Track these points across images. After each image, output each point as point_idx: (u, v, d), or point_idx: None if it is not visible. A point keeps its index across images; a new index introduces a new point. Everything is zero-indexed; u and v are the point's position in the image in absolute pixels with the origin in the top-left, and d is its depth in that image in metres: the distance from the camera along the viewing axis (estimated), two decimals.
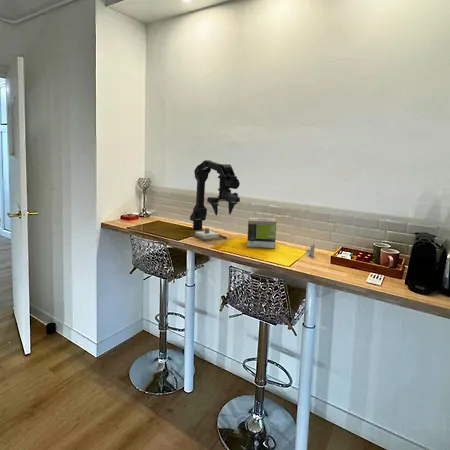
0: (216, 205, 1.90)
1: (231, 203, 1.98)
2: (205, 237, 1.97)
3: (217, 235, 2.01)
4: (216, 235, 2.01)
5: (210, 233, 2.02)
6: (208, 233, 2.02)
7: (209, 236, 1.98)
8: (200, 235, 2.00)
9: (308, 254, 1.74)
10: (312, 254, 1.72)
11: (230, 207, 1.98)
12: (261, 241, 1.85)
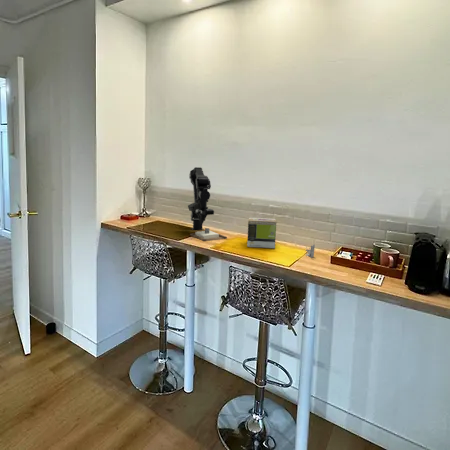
0: (196, 214, 2.07)
1: None
2: (205, 237, 1.97)
3: (217, 235, 2.01)
4: (216, 235, 2.01)
5: (210, 233, 2.02)
6: (208, 233, 2.02)
7: (209, 236, 1.98)
8: (200, 235, 2.00)
9: (308, 254, 1.74)
10: (312, 254, 1.72)
11: None
12: (261, 242, 1.85)
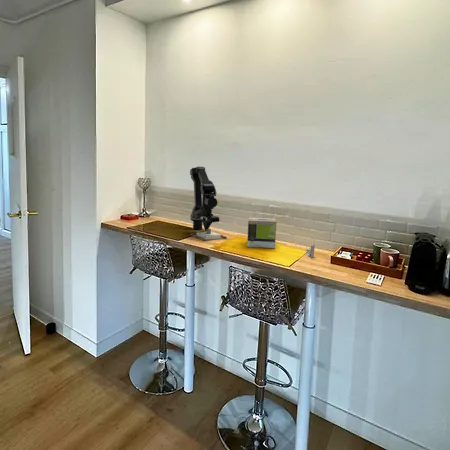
0: (201, 221, 2.03)
1: None
2: (207, 238, 1.96)
3: (219, 236, 2.00)
4: (218, 236, 2.00)
5: (212, 234, 2.01)
6: (210, 234, 2.01)
7: (211, 237, 1.97)
8: (202, 236, 1.98)
9: (308, 254, 1.74)
10: (312, 254, 1.72)
11: None
12: (261, 242, 1.85)
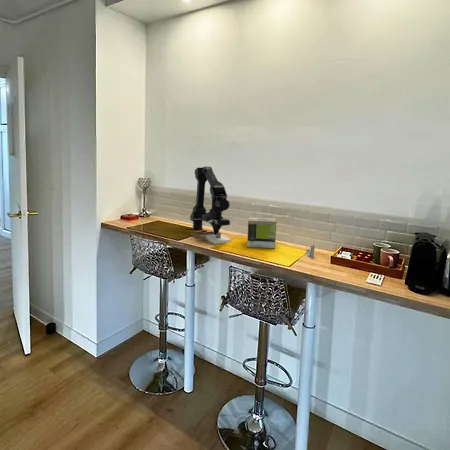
0: (211, 224, 1.94)
1: None
2: (216, 243, 1.88)
3: (229, 241, 1.92)
4: (228, 241, 1.92)
5: (221, 238, 1.93)
6: (219, 238, 1.93)
7: (220, 242, 1.89)
8: (211, 240, 1.91)
9: (308, 254, 1.73)
10: (312, 254, 1.72)
11: None
12: (261, 242, 1.85)
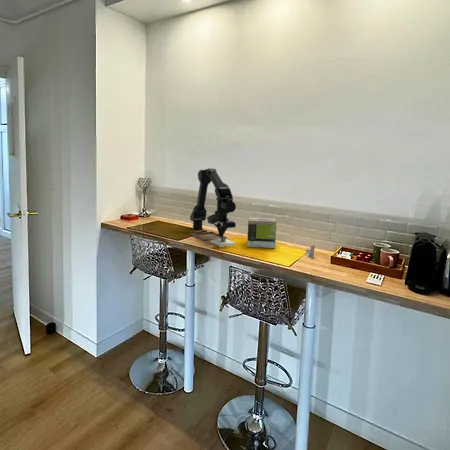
0: (216, 226, 1.90)
1: None
2: (221, 246, 1.84)
3: (234, 244, 1.88)
4: (233, 244, 1.88)
5: (226, 242, 1.89)
6: (224, 242, 1.89)
7: (225, 245, 1.85)
8: None
9: (308, 254, 1.73)
10: (312, 254, 1.72)
11: None
12: (261, 241, 1.85)
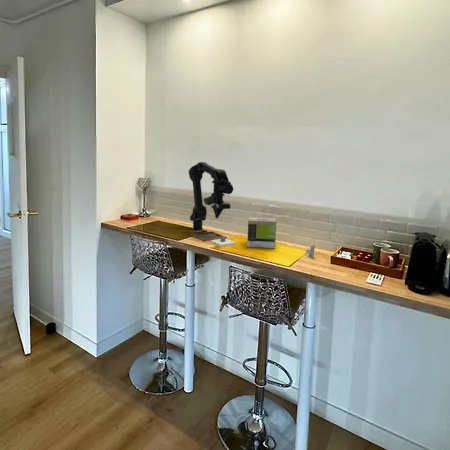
0: None
1: None
2: (221, 246, 1.84)
3: (234, 244, 1.88)
4: (233, 244, 1.88)
5: (226, 241, 1.89)
6: (224, 241, 1.89)
7: (225, 245, 1.85)
8: None
9: (308, 254, 1.73)
10: (312, 254, 1.72)
11: None
12: (261, 242, 1.85)
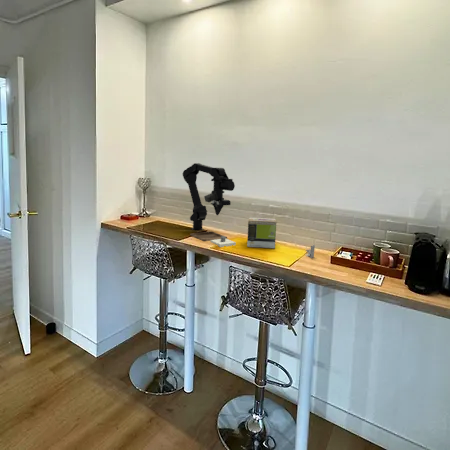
0: (213, 205, 2.08)
1: None
2: (221, 246, 1.84)
3: (234, 244, 1.88)
4: (233, 244, 1.88)
5: (226, 241, 1.89)
6: (224, 241, 1.89)
7: (225, 245, 1.85)
8: None
9: (308, 254, 1.73)
10: (312, 254, 1.72)
11: None
12: (261, 242, 1.85)
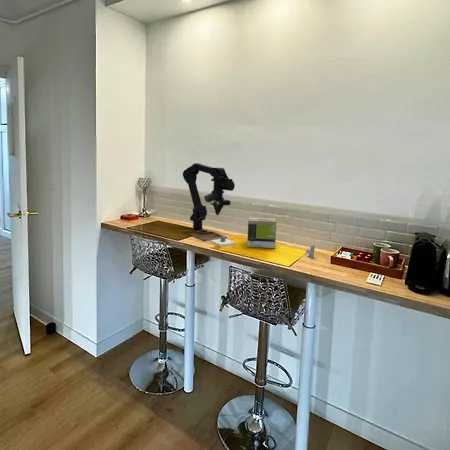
0: (213, 205, 2.08)
1: None
2: (221, 246, 1.84)
3: (234, 244, 1.88)
4: (233, 244, 1.88)
5: (226, 241, 1.89)
6: (224, 241, 1.89)
7: (225, 245, 1.85)
8: None
9: (308, 254, 1.73)
10: (312, 254, 1.71)
11: None
12: (261, 242, 1.85)
